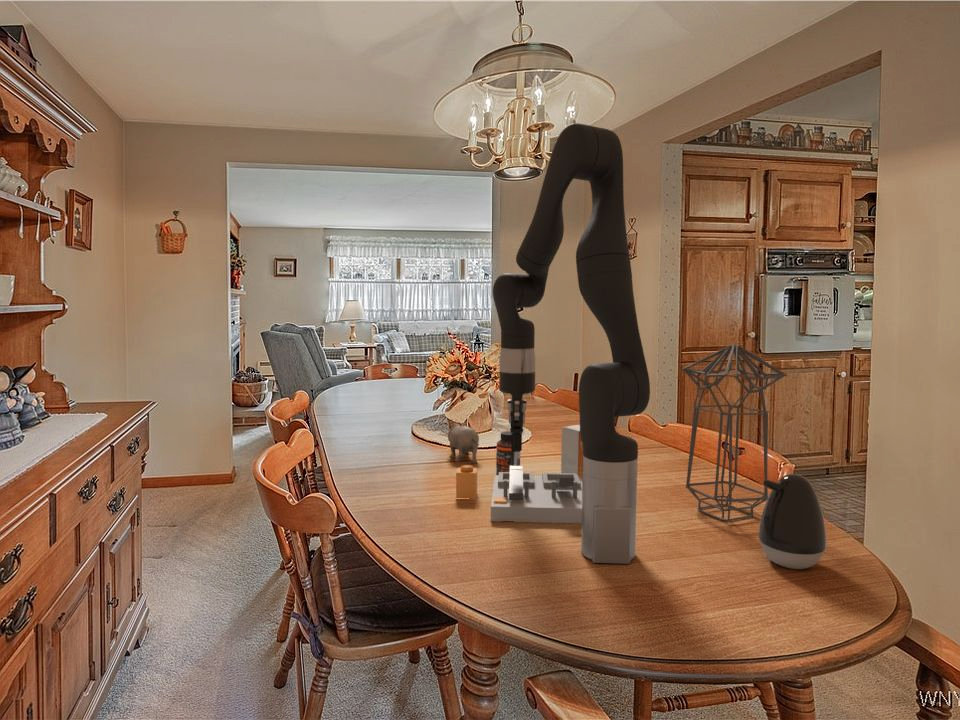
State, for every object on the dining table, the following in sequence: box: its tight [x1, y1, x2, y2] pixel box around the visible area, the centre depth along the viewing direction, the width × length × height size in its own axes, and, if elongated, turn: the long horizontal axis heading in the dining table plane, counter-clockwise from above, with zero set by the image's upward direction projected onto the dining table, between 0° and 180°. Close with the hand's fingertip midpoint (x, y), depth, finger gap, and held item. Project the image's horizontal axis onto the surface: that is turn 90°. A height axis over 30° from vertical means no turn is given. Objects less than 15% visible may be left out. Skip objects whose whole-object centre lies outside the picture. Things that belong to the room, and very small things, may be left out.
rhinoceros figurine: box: [447, 423, 480, 465], centre depth 179 cm, size 8×14×15 cm
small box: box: [560, 424, 583, 481], centre depth 158 cm, size 8×6×13 cm
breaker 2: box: [556, 478, 574, 488], centre depth 133 cm, size 11×3×2 cm, turn 177°
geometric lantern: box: [681, 344, 788, 522], centre depth 132 cm, size 16×16×35 cm
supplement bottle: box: [495, 430, 521, 475], centre depth 159 cm, size 6×6×11 cm
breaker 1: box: [509, 465, 524, 500], centre depth 134 cm, size 11×3×2 cm, turn 177°
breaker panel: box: [490, 471, 582, 524], centre depth 138 cm, size 23×20×6 cm
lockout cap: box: [455, 464, 478, 500], centre depth 144 cm, size 4×4×7 cm
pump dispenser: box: [758, 473, 827, 570], centre depth 107 cm, size 10×10×15 cm
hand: (516, 450), depth 136 cm, fingers closed
